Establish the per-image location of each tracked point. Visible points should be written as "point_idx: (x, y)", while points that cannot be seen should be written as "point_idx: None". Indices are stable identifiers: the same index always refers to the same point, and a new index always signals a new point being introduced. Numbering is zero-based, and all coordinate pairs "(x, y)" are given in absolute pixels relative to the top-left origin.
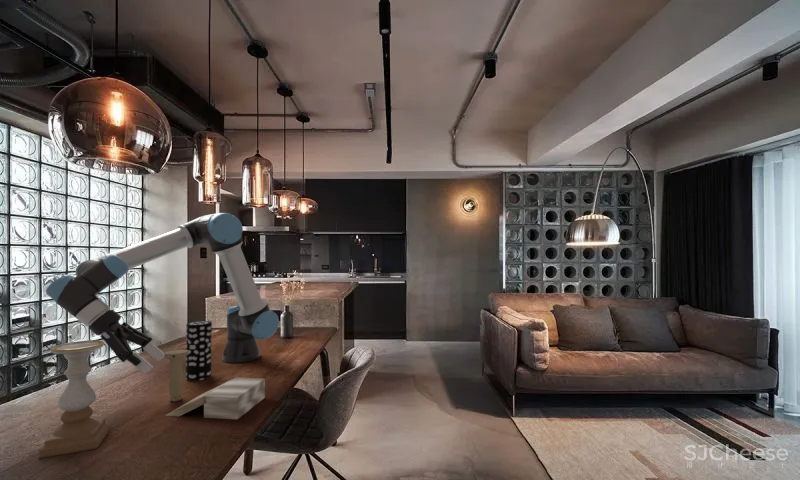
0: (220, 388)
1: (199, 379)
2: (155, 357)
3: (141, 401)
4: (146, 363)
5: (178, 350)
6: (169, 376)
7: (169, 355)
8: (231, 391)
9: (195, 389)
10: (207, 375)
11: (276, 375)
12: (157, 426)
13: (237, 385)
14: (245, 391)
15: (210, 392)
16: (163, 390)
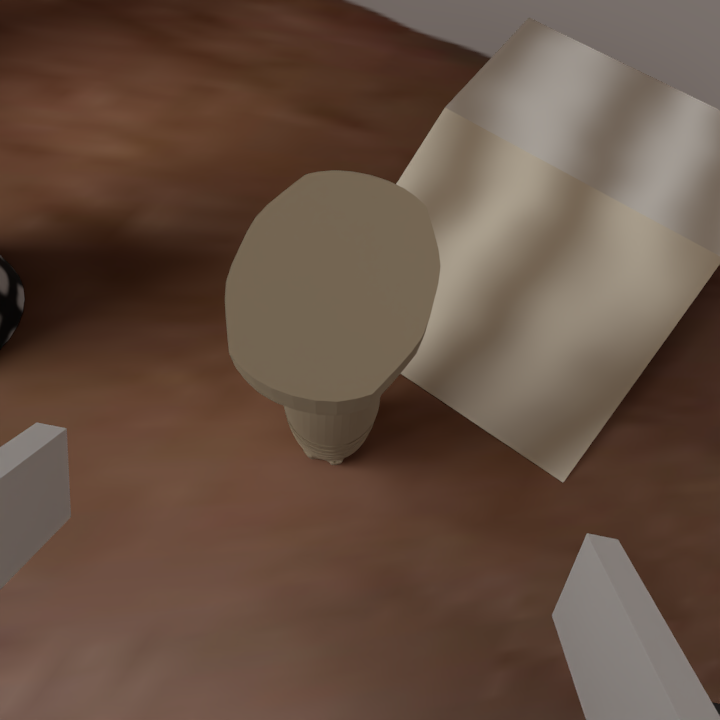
0: (619, 183)
1: (19, 308)
2: (21, 554)
3: (237, 647)
4: (654, 614)
5: (263, 254)
6: (340, 430)
7: (414, 352)
8: (685, 148)
9: (195, 337)
10: (4, 259)
11: (216, 19)
12: (701, 509)
13: (596, 117)
14: (700, 103)
15: (673, 228)
16: (78, 517)
